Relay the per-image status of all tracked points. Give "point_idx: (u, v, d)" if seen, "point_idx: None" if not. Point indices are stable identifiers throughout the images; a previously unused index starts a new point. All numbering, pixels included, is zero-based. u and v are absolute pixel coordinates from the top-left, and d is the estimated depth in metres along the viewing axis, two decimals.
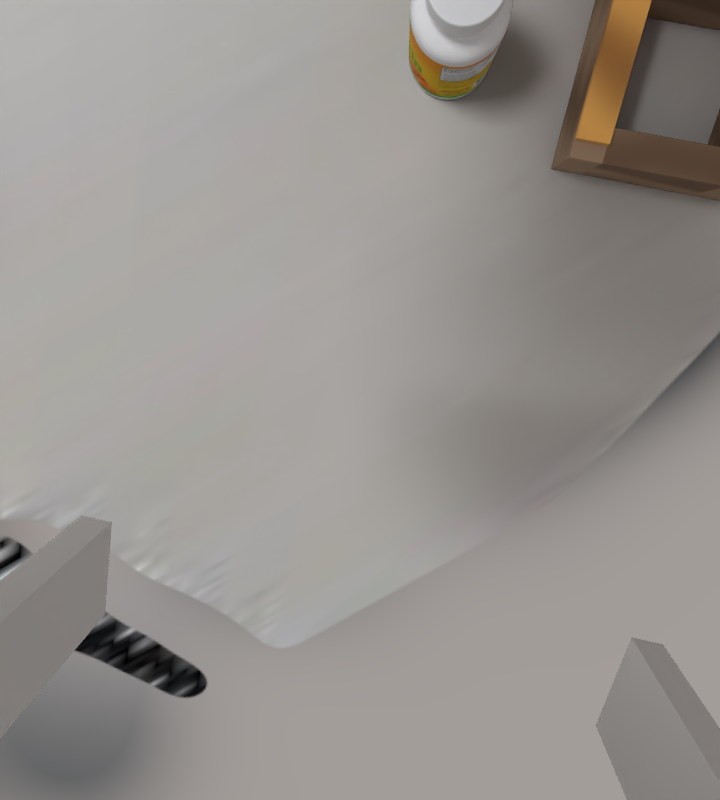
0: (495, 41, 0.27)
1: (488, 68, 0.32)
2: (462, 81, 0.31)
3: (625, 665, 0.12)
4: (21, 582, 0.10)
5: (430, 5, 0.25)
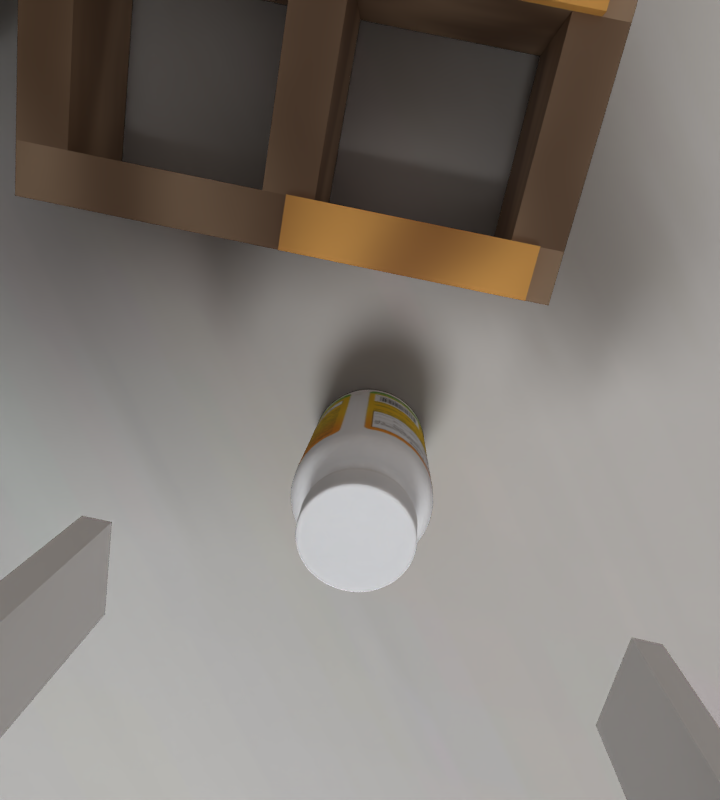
0: (410, 459, 0.19)
1: (401, 410, 0.23)
2: None
3: (625, 665, 0.12)
4: (21, 582, 0.10)
5: None
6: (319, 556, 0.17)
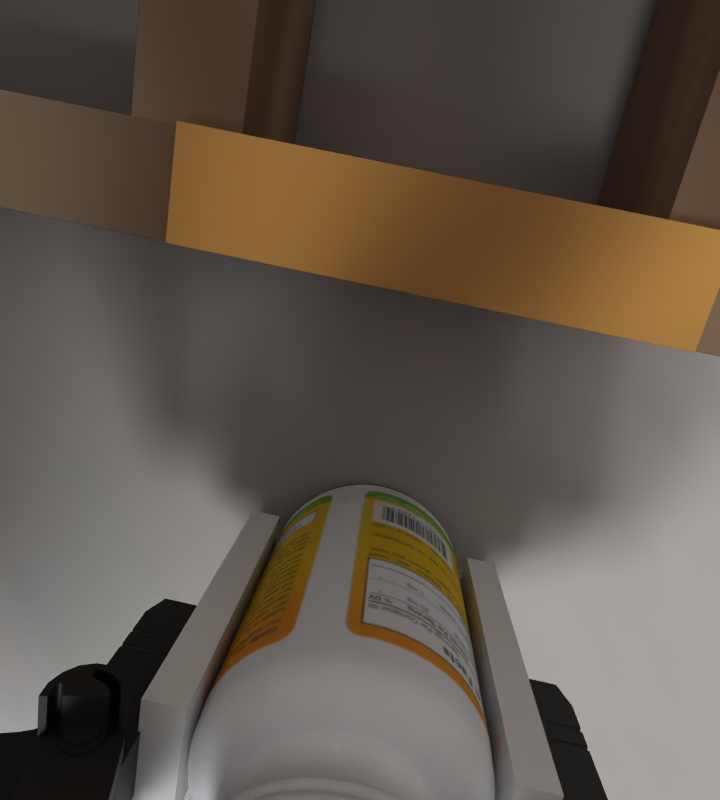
0: (449, 721, 0.08)
1: (421, 537, 0.13)
2: (470, 640, 0.12)
3: (462, 581, 0.14)
4: (237, 566, 0.12)
5: None
6: None
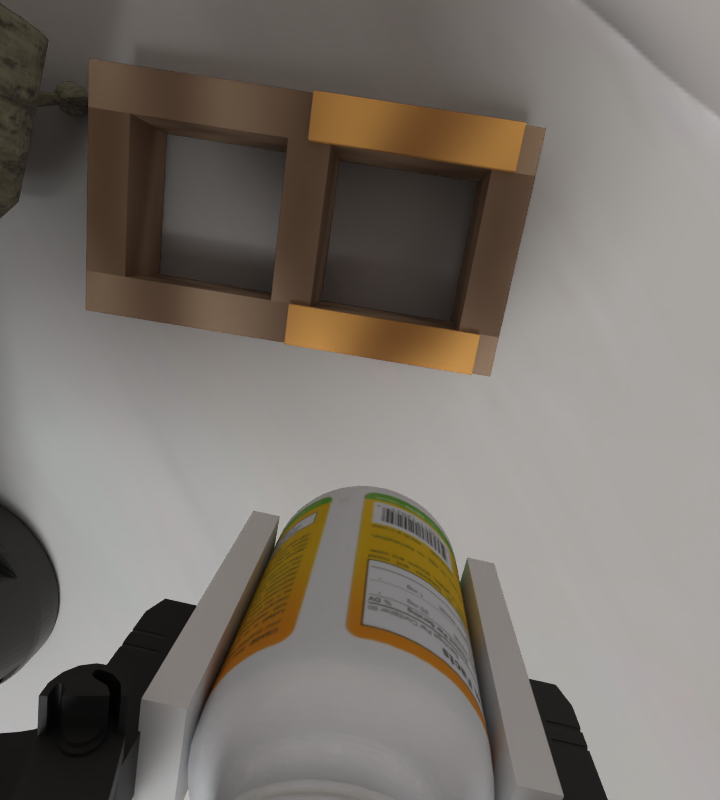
0: (449, 724, 0.08)
1: (421, 539, 0.13)
2: None
3: (462, 581, 0.14)
4: (237, 566, 0.12)
5: None
6: None
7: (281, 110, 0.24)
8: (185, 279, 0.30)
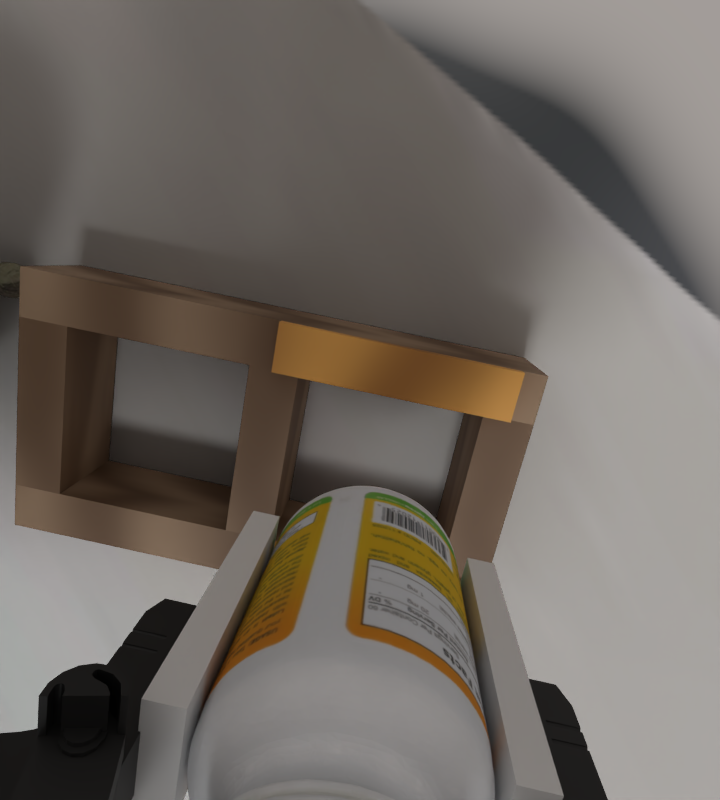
0: (449, 723, 0.08)
1: (421, 538, 0.13)
2: None
3: (462, 581, 0.14)
4: (237, 566, 0.12)
5: None
6: None
7: (242, 335, 0.20)
8: (136, 469, 0.26)
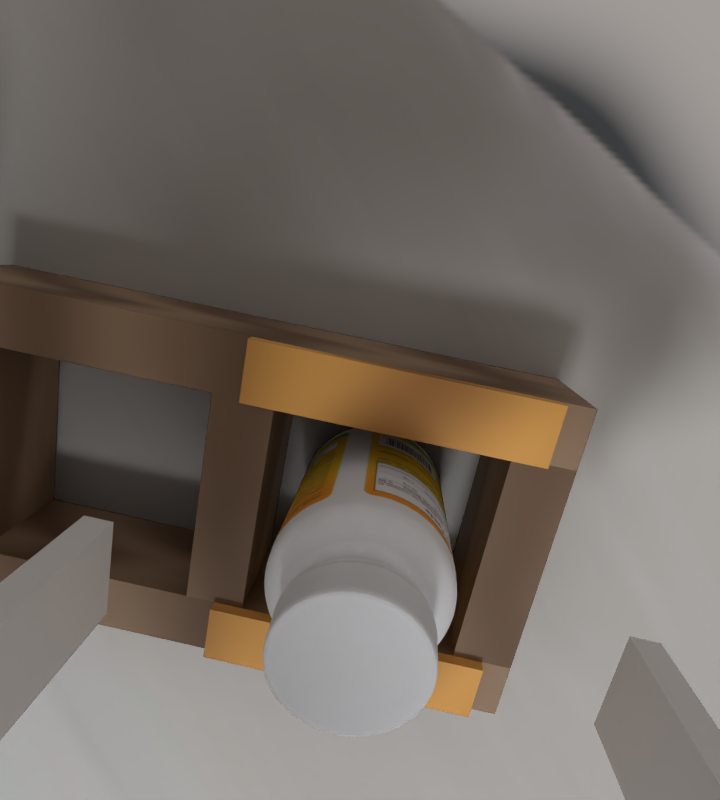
0: (427, 541, 0.13)
1: (413, 457, 0.18)
2: None
3: (623, 664, 0.12)
4: (23, 582, 0.10)
5: None
6: (297, 688, 0.12)
7: (201, 355, 0.16)
8: (86, 511, 0.22)
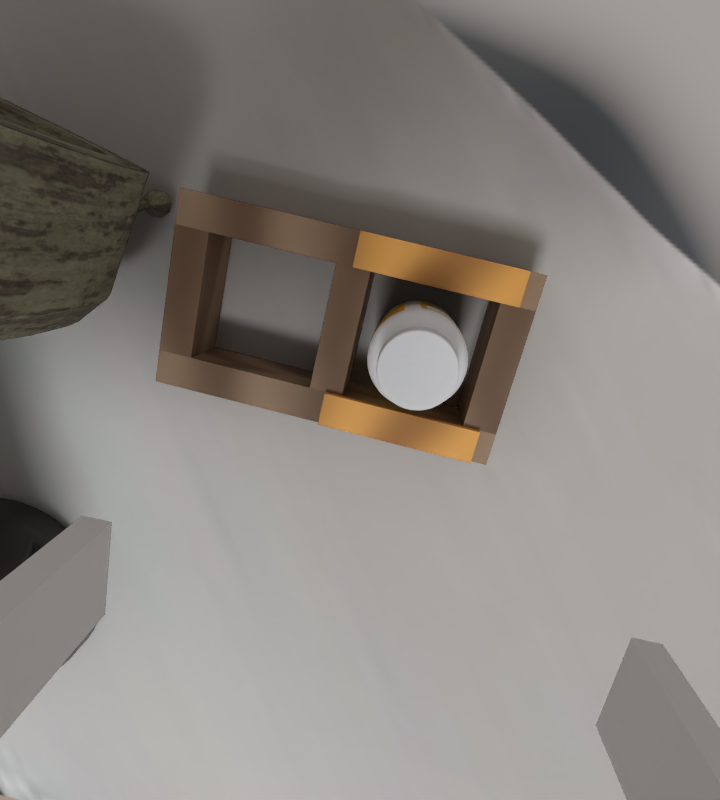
0: (454, 328, 0.27)
1: (444, 311, 0.31)
2: None
3: (625, 665, 0.12)
4: (21, 582, 0.10)
5: (434, 406, 0.25)
6: (392, 382, 0.25)
7: (332, 241, 0.29)
8: (236, 354, 0.35)
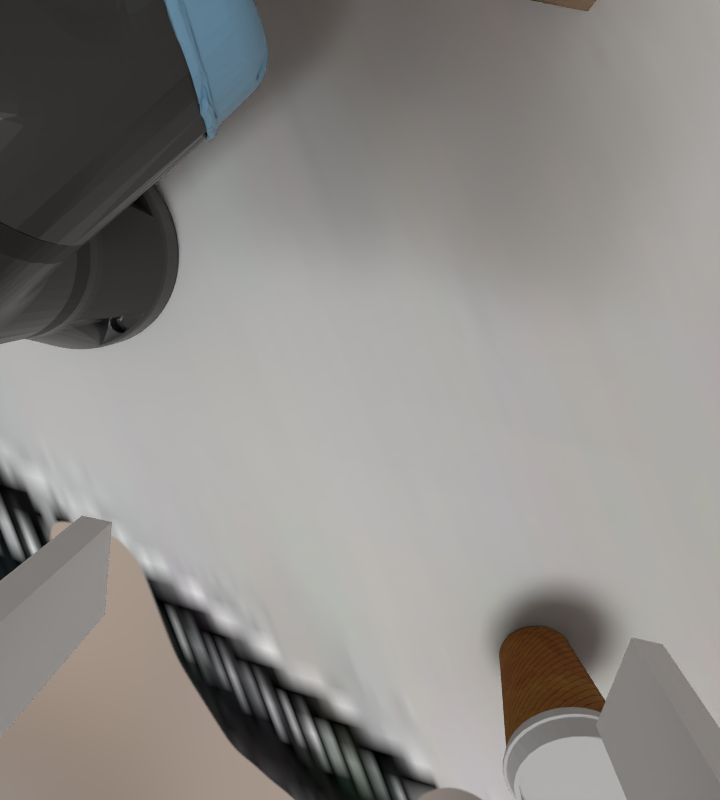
0: None
1: None
2: None
3: (625, 665, 0.12)
4: (21, 582, 0.10)
5: None
6: None
7: None
8: None
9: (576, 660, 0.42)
